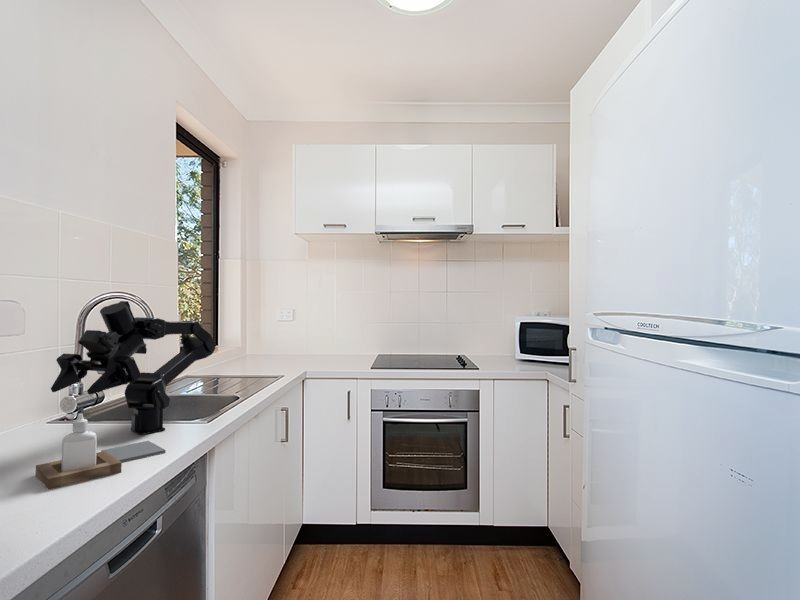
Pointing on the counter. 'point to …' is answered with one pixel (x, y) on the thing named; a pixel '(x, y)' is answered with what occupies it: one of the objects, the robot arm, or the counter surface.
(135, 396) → the robot arm
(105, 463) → the wooden tray
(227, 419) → the counter surface
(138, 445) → the mat
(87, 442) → the eye dropper bottle
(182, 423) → the counter surface
